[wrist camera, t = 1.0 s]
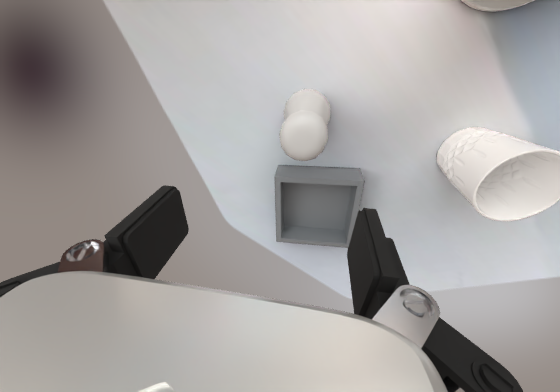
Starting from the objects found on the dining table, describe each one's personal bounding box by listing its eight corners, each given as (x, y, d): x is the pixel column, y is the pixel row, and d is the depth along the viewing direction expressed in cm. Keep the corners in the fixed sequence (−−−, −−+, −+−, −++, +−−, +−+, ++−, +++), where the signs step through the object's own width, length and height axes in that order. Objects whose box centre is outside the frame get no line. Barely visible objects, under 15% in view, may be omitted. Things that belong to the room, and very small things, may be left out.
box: (359, 168, 34) (364, 181, 30) (348, 231, 40) (350, 247, 36) (278, 164, 35) (274, 176, 32) (279, 226, 41) (276, 241, 38)
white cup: (512, 122, 28) (598, 150, 19) (483, 179, 32) (544, 223, 24) (442, 121, 29) (495, 148, 20) (423, 177, 33) (460, 219, 24)
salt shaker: (330, 129, 31) (338, 170, 20) (289, 134, 32) (275, 175, 21) (328, 82, 28) (336, 99, 17) (283, 89, 29) (263, 110, 18)
